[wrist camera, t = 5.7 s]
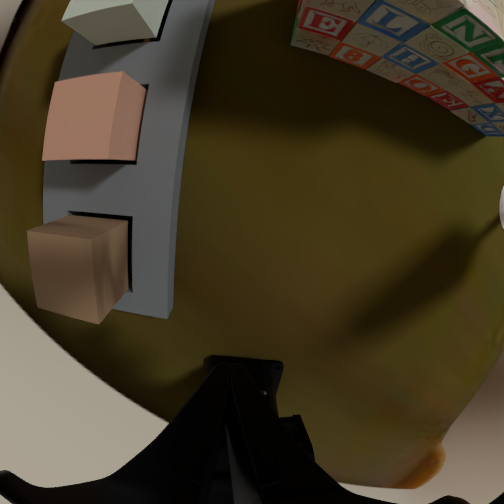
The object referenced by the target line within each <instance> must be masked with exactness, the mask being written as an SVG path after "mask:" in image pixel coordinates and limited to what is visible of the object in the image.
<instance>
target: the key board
mask: <svg viewBox="0 0 504 504" xmlns="http://www.w3.org/2000/svg"><path fill="white" fill-rule="evenodd" d="M214 3H215V0H173V1H172V4H171V7H170V10H169V13H168V16H167V19H166V22H165V25H164V29H163V32H162V35H161V39H160V41H157V42H144V43H133V44H125V45H117V46H111V47H106V46H107V43H106V44H101V45H94V44H93V43H91V42H90V41H89V40H87V39H86V38H85V37H83V36H82V35H81V34H79V33H78V32H76V31H75V30H74V32H73V34H72V37H71V40H70V43H69V46H68V49H67V52H66V55H65V58H64V61H63V65H62V68H61V72H60V76H59V79H58V81H62V80H67V79H72V78H77V77H83V76H89V75H95V74H102V73H111V72H120V71H123V72H125V73H126V74H127V75H129V76H130V77H131V78H132V79H134V80H135V81H136V82H138V83H139V84H140V85H141V86H143V87H144V88H145V89H146V90H148V93H147V98H146V103H145V109H144V115H143V121H142V127H141V134H140V141H139V149H138V157H137V165H130V164H83V163H84V160H45V166H44V184H43V224H46V223H49V222H52V221H54V220H57V219H60V218H63V217H66V216H69V215H75V216H81V212H91V213H102V214H113V215H124V216H133V223H132V281H130V280H128V290H127V291H126V293H125V294H124V295H123V296H122V297H121V298H120V300H119V301H118V302H117V303H116V304H115V306H114V307H113V308H112V309H115V310H120V311H125V312H131V313H136V314H141V315H147V316H153V317H159V318H165V319H168V317H169V315H170V312H171V310H172V308H173V294H174V265H175V246H176V231H177V218H178V206H179V195H180V185H181V176H182V168H183V159H184V152H185V144H186V137H187V130H188V124H189V118H190V111H191V106H192V100H193V94H194V89H195V84H196V78H197V73H198V69H199V64H200V59H201V55H202V50H203V46H204V41H205V37H206V33H207V29H208V25H209V21H210V18H211V14H212V10H213V7H214Z"/></svg>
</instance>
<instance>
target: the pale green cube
mask: <svg viewBox="0 0 504 504" xmlns="http://www.w3.org/2000/svg"><path fill="white" fill-rule="evenodd" d="M167 3H168V0H71V1H70V3H69V5H68V7H67V9H66V11H65V14H64V16H63V18H62V22H64V23H65V24H67V25H68V26H69V27H71V28H72V29H74V30H75V31H76V32H78V33H79V34H81V35H82V36H83V37H85V38H86V39H87V40H89V41H90V42H91V43H93V44H94V45H101V44H106V43H112V42H119V41H126V40H135V39H145V38H156V37H157V34H158V30H159V27H160V24H161V21H162V18H163V15H164V12H165V9H166V6H167Z"/></svg>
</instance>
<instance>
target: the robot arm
mask: <svg viewBox="0 0 504 504" xmlns="http://www.w3.org/2000/svg"><path fill="white" fill-rule="evenodd" d="M213 360H216V361H217V362H214V361H213ZM276 366H279V367H276ZM283 368H284V366H283V363H282V362H281V361H273V360H258V359H246V358H235V357H225V356H216V355H213V356H211V357H210V359H209V371H208V376H207V377H206V378H205V379H204V381H203V382H202V383H201V385H200V386H199V387H198V388H197V390H196V391H195V392H194V393H193V395H192V396H191V397H190V398H189V400H188V401H187V402H186V403H185V405H184V406H183V407H182V408H181V409H180V411H179V412H178V413H177V414H176V416H175V417H174V418H173V419H172V422H170V423H169V424H168V425H167V426H166V428H165V429H164V430H163V431H162V432H161V433H160V434H159V435H158V436H157V437H156V439H154V440H153V441H152V442H151V443H150V444H149V445H148V446H147V447H146V448H145V449H144V450H142V451H141V452H140V453H139V454H137V455H136V456H135V457H134V458H133V459H132V460H130V461H129V462H128V463H126V464H125V465H124V466H123V467H121V468H120V469H119V470H117V471H116V472H115V473H113V474H111V475H110V476H108V477H105V478H103V479H99V480H95V481H90V482H85V483H81V484H74V485H69V486H62V487H54V488H43V487H38V486H34V485H31V484H29V483H27V482H25V481H24V480H22V479H21V478H19V477H18V476H16V475H15V474H13V473H11V472H10V471H7V470H3V471H0V495H2V496H3V497H4V498H5V499H7V500H8V501H9V502H11V503H12V504H396V503H390V502H386V501H381V500H377V499H373V498H369V497H365V496H361V495H357V494H355V493H352V492H350V491H348V490H346V489H345V488H343V487H342V486H341V485H339V484H338V483H337V482H336V481H335V480H334V479H333V478H332V477H331V476H329V475H328V474H327V473H326V472H325V471H324V470H323V469H322V468H321V467H320V466H319V465H318V464H317V463H316V462H315V457H314V452H313V447H312V444H311V442H310V439H309V436H308V434H307V431H306V429H305V426H304V424H303V421H302V419H301V416H300V414H299V415H293V416H291V417H281V418H279V415H278V409H277V402H276V393H277V389H278V386H279V382H280V379H281V375H282V372H283ZM429 504H470V503H468V502H467V501H466V500H464V499H462V498H459V497H453V496H450V495H448V496H444V497H442V498H440V499H438V500H436V501H434V502H432V503H429ZM489 504H504V492H503V493H502V494H501V495H500V496H499V497H497V498H496V499H494V500H493V501H492V502H491V503H489Z"/></svg>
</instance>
